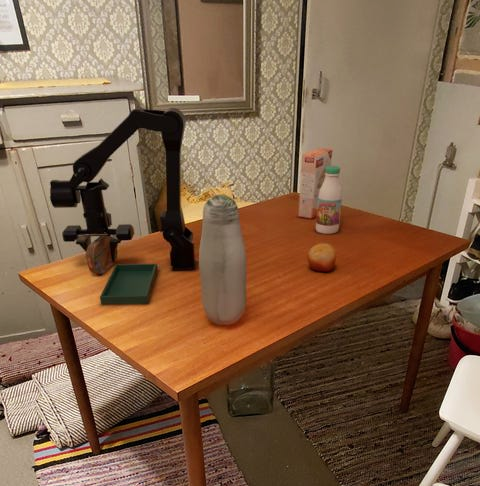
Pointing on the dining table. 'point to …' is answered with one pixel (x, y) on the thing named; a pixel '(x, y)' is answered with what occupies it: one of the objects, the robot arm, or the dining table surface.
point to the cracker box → (312, 180)
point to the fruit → (322, 257)
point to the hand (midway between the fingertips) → (104, 262)
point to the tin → (99, 255)
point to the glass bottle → (222, 261)
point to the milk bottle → (329, 202)
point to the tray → (129, 284)
